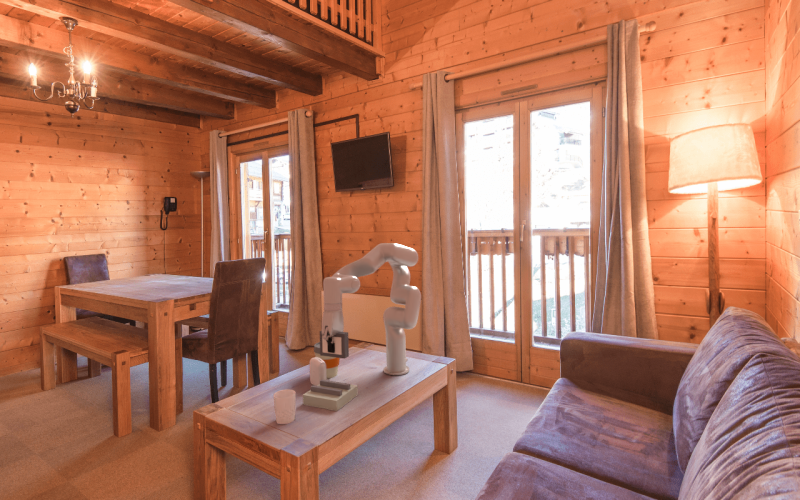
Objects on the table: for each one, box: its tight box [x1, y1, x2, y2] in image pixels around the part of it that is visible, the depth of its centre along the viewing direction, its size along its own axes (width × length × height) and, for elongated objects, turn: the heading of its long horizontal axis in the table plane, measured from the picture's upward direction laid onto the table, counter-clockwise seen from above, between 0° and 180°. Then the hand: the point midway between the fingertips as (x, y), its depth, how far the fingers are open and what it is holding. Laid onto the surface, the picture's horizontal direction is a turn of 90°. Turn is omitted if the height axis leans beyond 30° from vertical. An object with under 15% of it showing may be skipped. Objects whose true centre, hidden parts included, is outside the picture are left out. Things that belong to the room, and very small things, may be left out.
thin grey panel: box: [319, 330, 350, 360], centre depth 165 cm, size 3×12×10 cm, turn 66°
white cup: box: [273, 389, 297, 425], centre depth 147 cm, size 8×8×10 cm
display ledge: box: [302, 379, 359, 412], centre depth 164 cm, size 16×16×6 cm
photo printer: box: [309, 356, 328, 386], centre depth 180 cm, size 10×4×12 cm, turn 39°
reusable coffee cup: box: [313, 341, 341, 379], centre depth 192 cm, size 13×13×15 cm
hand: (333, 350), depth 165 cm, fingers closed on thin grey panel, 3 cm apart
